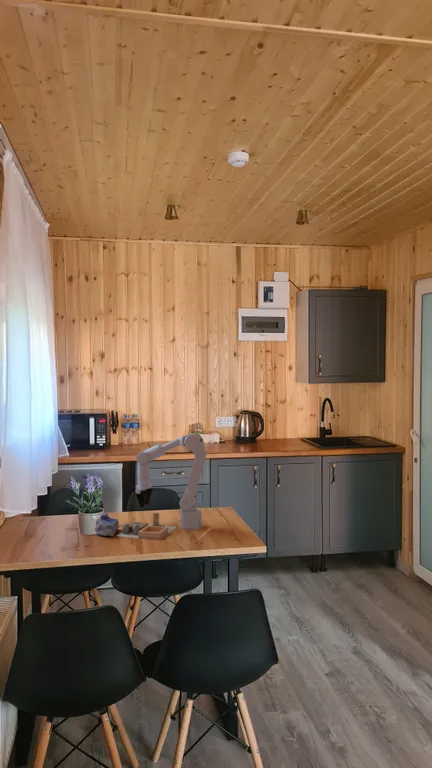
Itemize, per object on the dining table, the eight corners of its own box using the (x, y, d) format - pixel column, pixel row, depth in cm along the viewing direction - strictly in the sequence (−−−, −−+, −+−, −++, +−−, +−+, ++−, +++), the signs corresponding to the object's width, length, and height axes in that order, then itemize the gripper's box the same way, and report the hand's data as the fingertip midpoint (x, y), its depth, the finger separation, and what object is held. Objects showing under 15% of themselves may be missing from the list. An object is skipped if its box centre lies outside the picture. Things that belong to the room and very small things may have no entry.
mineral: (96, 511, 256) (118, 509, 257) (98, 530, 258) (120, 529, 258) (91, 523, 242) (114, 521, 243) (93, 544, 244) (116, 542, 244)
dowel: (160, 528, 256) (159, 513, 256) (157, 530, 254) (157, 514, 253) (154, 528, 257) (154, 512, 257) (152, 529, 254) (151, 514, 254)
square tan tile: (148, 528, 257) (148, 523, 256) (140, 533, 249) (140, 527, 249) (132, 527, 259) (132, 521, 259) (124, 532, 251) (124, 526, 251)
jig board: (176, 528, 258) (176, 518, 258) (160, 541, 239) (160, 530, 239) (135, 525, 264) (135, 515, 264) (115, 537, 245) (115, 526, 245)
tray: (168, 532, 249) (168, 527, 249) (159, 539, 240) (159, 533, 240) (147, 531, 252) (147, 525, 252) (138, 537, 243) (138, 531, 243)
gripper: (142, 473, 270) (142, 501, 270) (129, 479, 256) (129, 508, 256) (156, 474, 268) (156, 502, 268) (143, 480, 254) (143, 509, 254)
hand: (144, 505), depth 262 cm, fingers open, 5 cm apart
